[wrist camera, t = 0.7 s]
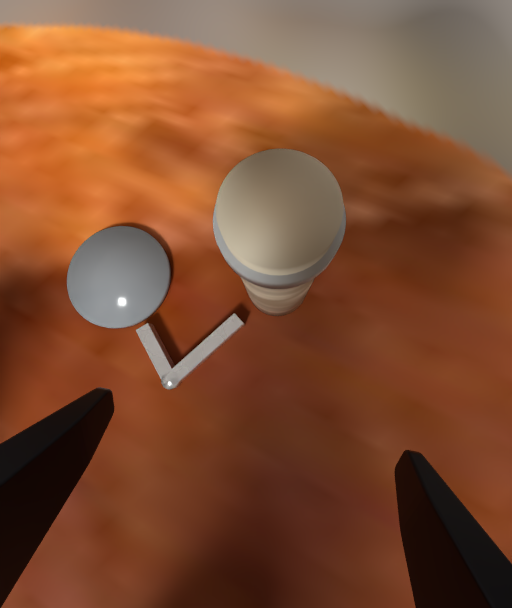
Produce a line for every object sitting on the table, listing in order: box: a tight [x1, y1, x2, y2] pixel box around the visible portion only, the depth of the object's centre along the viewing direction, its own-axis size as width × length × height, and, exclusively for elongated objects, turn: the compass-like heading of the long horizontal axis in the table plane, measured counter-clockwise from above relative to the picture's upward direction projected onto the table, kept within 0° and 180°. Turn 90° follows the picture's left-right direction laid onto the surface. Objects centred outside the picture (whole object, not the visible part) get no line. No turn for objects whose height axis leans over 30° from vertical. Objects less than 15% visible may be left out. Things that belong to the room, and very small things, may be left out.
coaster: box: [67, 226, 171, 328], centre depth 24 cm, size 8×8×1 cm
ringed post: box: [213, 149, 346, 316], centre depth 17 cm, size 5×5×13 cm
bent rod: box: [136, 313, 245, 389], centre depth 23 cm, size 7×5×1 cm
